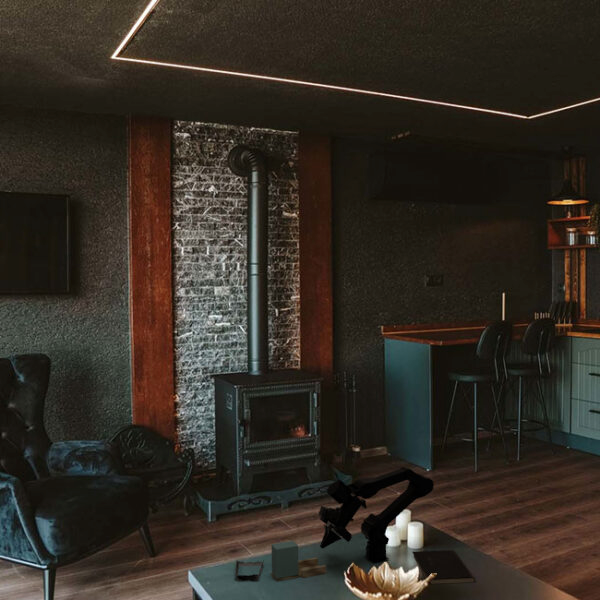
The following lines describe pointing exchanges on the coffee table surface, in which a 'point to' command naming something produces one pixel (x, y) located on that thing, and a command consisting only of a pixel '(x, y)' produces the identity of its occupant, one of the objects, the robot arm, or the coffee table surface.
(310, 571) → the chute
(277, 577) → the block
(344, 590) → the coffee table surface
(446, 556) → the hardcover book
